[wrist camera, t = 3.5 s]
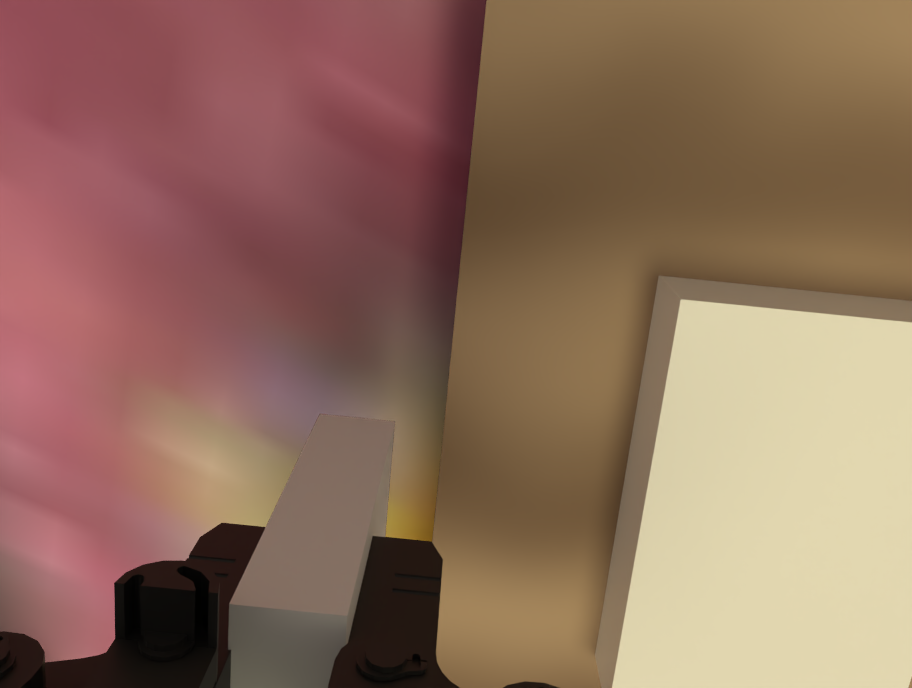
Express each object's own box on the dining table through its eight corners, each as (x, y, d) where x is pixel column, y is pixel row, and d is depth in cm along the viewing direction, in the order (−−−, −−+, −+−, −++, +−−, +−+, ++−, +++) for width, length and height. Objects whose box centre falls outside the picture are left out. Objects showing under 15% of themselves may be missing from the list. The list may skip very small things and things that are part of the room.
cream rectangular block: (658, 275, 18) (680, 298, 16) (954, 305, 18) (1012, 332, 16) (594, 655, 20) (607, 715, 18) (853, 680, 20) (892, 743, 18)
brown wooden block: (493, -65, 19) (496, -101, 16) (1114, -2, 20) (1268, -21, 16) (412, 743, 26) (400, 858, 22) (881, 789, 26) (950, 912, 22)
